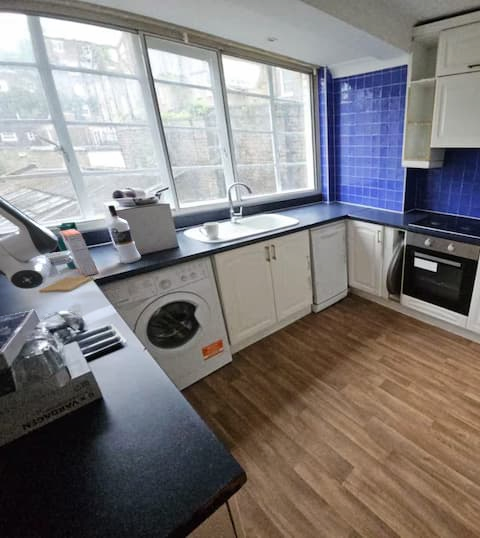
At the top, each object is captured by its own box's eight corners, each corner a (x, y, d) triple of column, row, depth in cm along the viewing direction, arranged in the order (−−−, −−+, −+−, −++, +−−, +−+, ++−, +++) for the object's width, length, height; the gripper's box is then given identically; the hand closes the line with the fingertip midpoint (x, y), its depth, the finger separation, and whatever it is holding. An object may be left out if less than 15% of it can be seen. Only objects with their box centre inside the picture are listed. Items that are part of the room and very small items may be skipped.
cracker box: (76, 271, 148) (58, 231, 139) (91, 267, 152) (74, 228, 144) (83, 277, 140) (64, 235, 131) (99, 273, 144) (81, 232, 136)
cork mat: (70, 291, 127) (69, 289, 126) (39, 292, 127) (38, 290, 126) (94, 278, 139) (93, 276, 138) (66, 279, 139) (65, 277, 138)
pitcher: (87, 266, 153) (69, 225, 144) (67, 269, 150) (47, 227, 141) (95, 260, 161) (78, 221, 153) (76, 263, 159) (58, 223, 150)
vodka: (145, 257, 163) (126, 203, 151) (132, 264, 154) (111, 207, 142) (130, 257, 164) (110, 203, 152) (116, 264, 155) (94, 207, 143)
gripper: (68, 251, 113) (71, 243, 123) (-11, 265, 101) (-1, 255, 111) (75, 266, 115) (77, 257, 125) (-1, 282, 104) (7, 271, 113)
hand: (40, 256), depth 118 cm, fingers closed on syrup box, 6 cm apart
